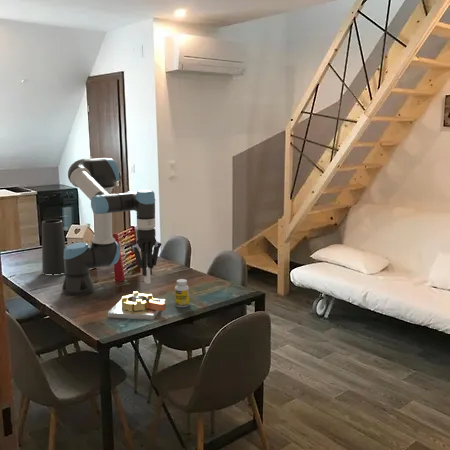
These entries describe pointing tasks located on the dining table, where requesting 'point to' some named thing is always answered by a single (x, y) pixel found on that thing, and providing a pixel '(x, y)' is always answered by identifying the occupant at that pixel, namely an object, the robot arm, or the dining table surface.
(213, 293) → the dining table surface
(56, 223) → the vase
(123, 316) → the plate
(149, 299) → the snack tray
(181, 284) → the pill bottle
